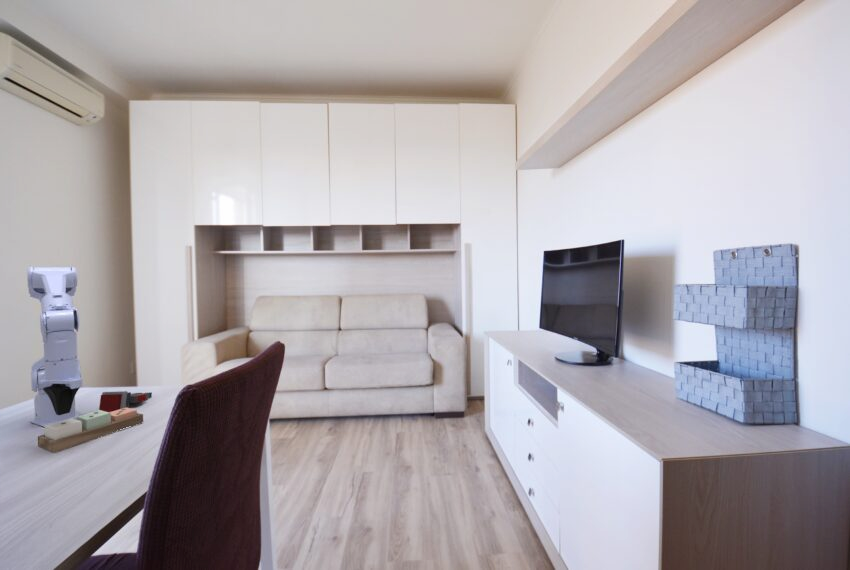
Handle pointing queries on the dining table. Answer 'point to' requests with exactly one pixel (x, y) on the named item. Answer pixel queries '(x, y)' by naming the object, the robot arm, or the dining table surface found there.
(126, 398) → the toy
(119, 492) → the dining table surface
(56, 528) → the dining table surface
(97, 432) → the board
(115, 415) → the terracotta tile
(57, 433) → the cream tile
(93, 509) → the dining table surface
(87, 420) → the sage tile
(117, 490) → the dining table surface
